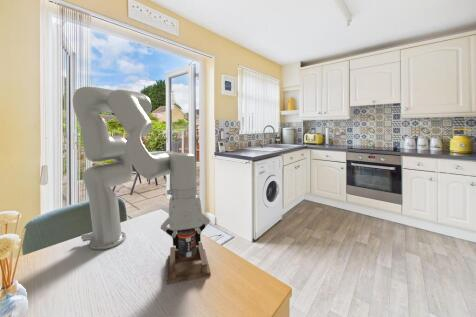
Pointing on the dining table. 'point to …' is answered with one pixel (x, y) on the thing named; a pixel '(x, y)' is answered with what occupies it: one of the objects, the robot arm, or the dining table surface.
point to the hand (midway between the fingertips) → (187, 244)
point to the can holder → (187, 266)
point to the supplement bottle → (186, 243)
